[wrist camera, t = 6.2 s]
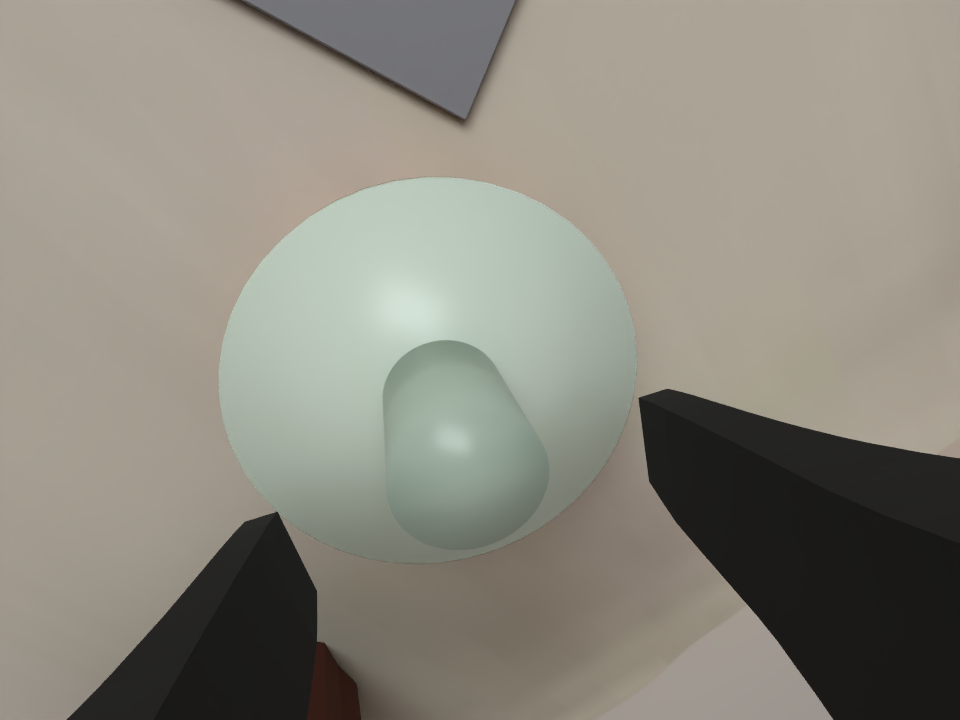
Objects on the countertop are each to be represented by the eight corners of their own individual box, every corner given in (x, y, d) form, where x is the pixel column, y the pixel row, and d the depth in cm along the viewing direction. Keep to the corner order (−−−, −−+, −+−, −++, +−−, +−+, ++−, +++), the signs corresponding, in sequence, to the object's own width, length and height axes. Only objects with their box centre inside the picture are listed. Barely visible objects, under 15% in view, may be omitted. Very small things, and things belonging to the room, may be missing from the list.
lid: (637, 166, 13) (768, 169, 9) (613, 516, 17) (695, 636, 13) (179, 187, 11) (58, 203, 7) (270, 572, 15) (230, 735, 11)
